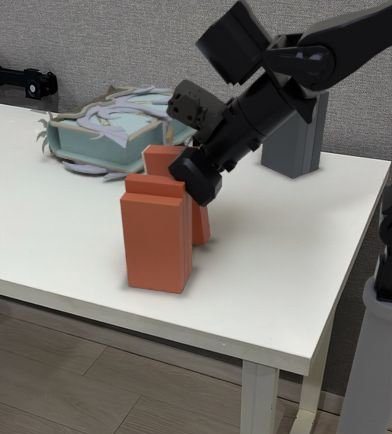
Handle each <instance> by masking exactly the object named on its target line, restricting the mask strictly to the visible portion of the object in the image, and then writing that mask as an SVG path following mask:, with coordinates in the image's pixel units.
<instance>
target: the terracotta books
mask: <svg viewBox="0 0 392 434" xmlns="http://www.w3.org/2000/svg"><path fill="white" fill-rule="evenodd" d="M124 190H125V192H124V193H123V195H122V196H120V198H119V206H120V215H121V226H122V235H123V246H124V257H125V265H126V275H127V276H126V277H127V285H128V287H131V288H138V289H146V290H152V291H159V292H166V293H173V294H180V295H181V294H182V292H183V290H184V288H185V286H186V284H187V282H188V279H189V277H190V275H191V273H192V271H193V243H192V197H191V196H190V195H189V194H188V193H187V192H186V191H185V182H180V181H176V180H175V179H174V177H164V176H154V175H146V174H143V173H129V175H128V176H125V178H124Z"/></svg>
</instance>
